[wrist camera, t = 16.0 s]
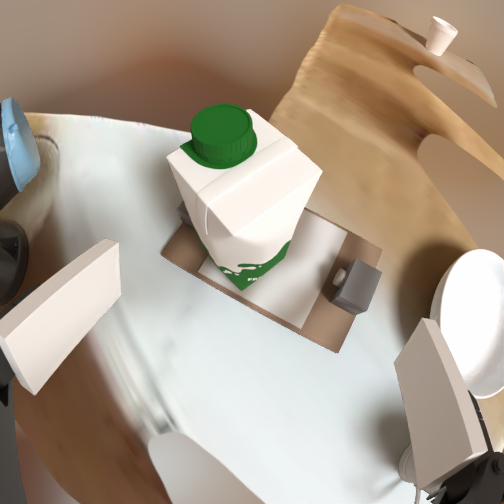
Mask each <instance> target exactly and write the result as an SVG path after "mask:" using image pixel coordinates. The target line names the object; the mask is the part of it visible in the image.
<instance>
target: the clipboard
mask: <svg viewBox="0 0 504 504" xmlns="http://www.w3.org/2000/svg"><path fill="white" fill-rule="evenodd" d="M177 211H178V213H179V215H180V217H181V219H182V221H183V223H182V224H181V226H180V227H179V229H178V230H177V232H176V233H175V235H174V236H173V237H172V239H171V240H170V242H169V243H168V245H167V246H166V248H165V249H164V251H163V252H162V254H161V255H162V256H163V257H164V258H166V259H167V260H169V261H171V262H172V263H174V264H176V265H177V266H179V267H181V268H182V269H184V270H186V271H187V272H189V273H191V274H192V275H194V276H196V277H197V278H199V279H201V280H202V281H204V282H206V283H207V284H209V285H211V286H213V287H214V288H216V289H218V290H220V291H221V292H223V293H225V294H227V295H228V296H230V297H232V298H234V299H235V300H237V301H239V302H241V303H242V304H244V305H246V306H248V307H250V308H251V309H253V310H255V311H257V312H259V313H260V314H262V315H264V316H266V317H268V318H270V319H271V320H273V321H275V322H277V323H279V324H281V325H283V326H284V327H286V328H288V329H290V330H292V331H294V332H296V333H298V334H300V335H301V336H303V337H305V338H307V339H309V340H311V341H313V342H315V343H317V344H319V345H321V346H323V347H325V348H327V349H329V350H331V351H333V352H335V353H338V352H339V350H340V348H341V346H342V344H343V342H344V340H345V338H346V336H347V334H348V332H349V330H350V328H351V325H352V323H353V321H354V319H355V317H356V315H357V314H360V313H363V312H365V311H367V309H368V307H369V304H370V302H371V299H372V297H373V294H374V292H375V289H376V287H377V284H378V282H379V279H380V277H381V274H382V272H381V271H379V270H377V269H375V268H376V266H377V263H378V260H379V258H380V255H381V252H382V249H381V248H379V247H377V246H375V245H374V244H372V243H370V242H368V241H367V240H365V239H363V238H361V237H359V236H358V235H356V234H354V233H352V232H350V231H349V230H347V229H345V228H343V227H341V226H339V225H338V224H336V223H334V222H332V221H330V220H328V219H326V218H324V217H322V216H321V215H319V214H317V213H315V212H313V211H311V210H309V209H307V208H305V207H304V209H303V211H302V213H301V215H300V218H299V220H298V223H297V225H296V228H295V231H294V234H293V236H292V239H291V242H290V244H289V247H288V250H287V253H286V256H285V258H284V259H283V260H282V261H281V262H279V263H278V264H277V265H276V266H274V267H273V268H272V269H271V270H269V271H268V272H267V273H266V274H264V275H263V276H262V277H261V278H259V279H258V280H257V281H255V282H254V283H252V284H251V285H250V286H248V287H247V288H246V289H244V290H243V291H241V290H240V289H239V288H238V287H237V286H236V285H235V284H234V283H233V282H232V281H231V280H230V279H229V278H228V277H227V276H226V275H225V274H224V273H223V272H222V271H221V270H220V269H219V268H218V267H217V266H216V264H215V263H214V262H213V260H212V259H211V258H210V256H209V255H208V254H207V252H206V251H205V249H204V248H203V246H202V244H201V242H200V240H199V237H198V235H197V233H196V230H195V228H194V225H193V223H192V221H191V218H190V216H189V213H188V211H187V208H186V206H185V203H184V200H183V202H182V203H181V204H180V206H179V207H178V209H177Z"/></svg>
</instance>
